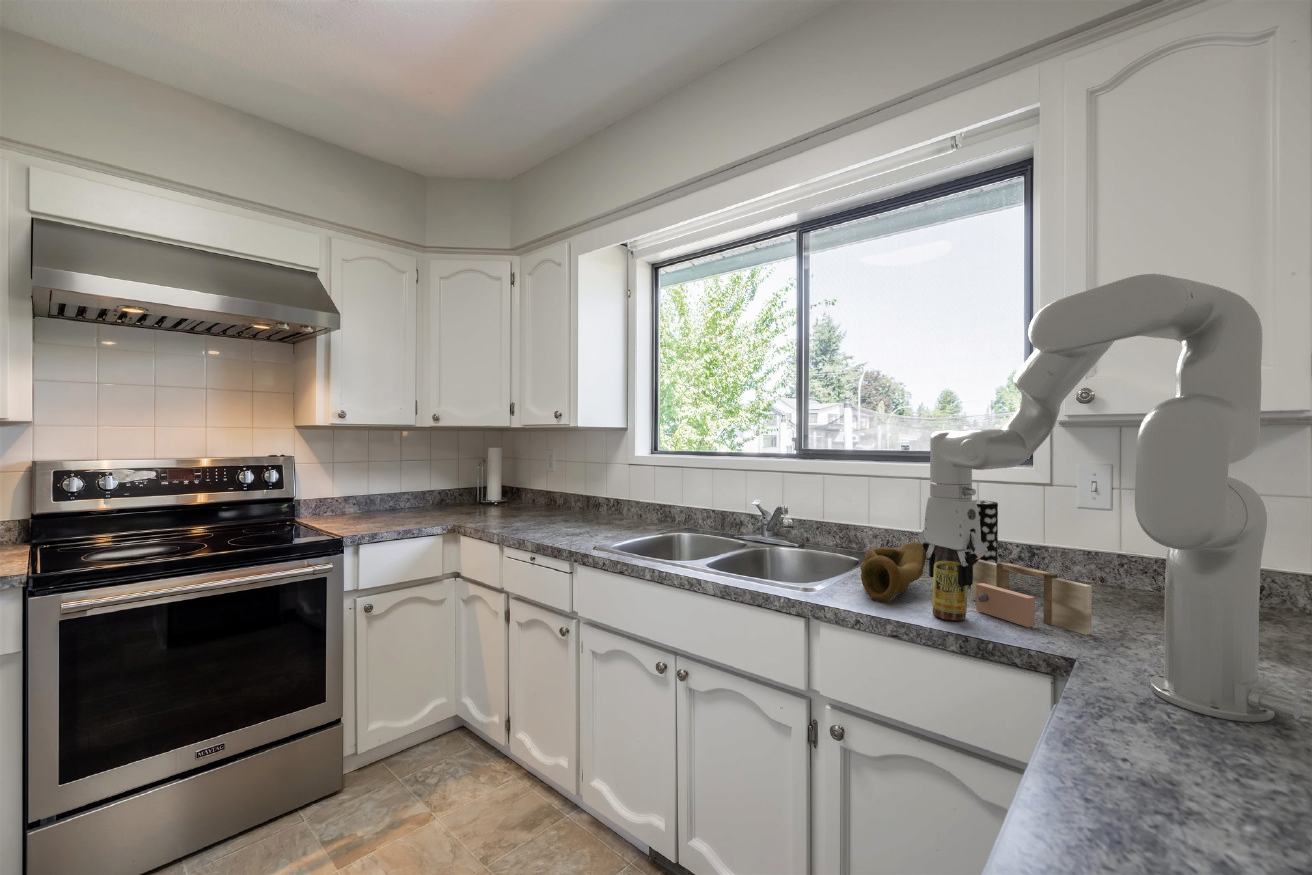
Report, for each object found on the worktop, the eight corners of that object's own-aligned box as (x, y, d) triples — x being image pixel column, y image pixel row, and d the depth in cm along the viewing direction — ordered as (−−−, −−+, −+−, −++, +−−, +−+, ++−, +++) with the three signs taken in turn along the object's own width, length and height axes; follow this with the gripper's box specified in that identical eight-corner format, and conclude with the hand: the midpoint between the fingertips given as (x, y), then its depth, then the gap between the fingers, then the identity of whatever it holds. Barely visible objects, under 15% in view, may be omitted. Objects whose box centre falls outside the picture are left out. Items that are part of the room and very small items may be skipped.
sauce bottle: (931, 619, 116) (931, 520, 115) (932, 610, 121) (932, 516, 121) (968, 624, 113) (968, 522, 112) (968, 615, 118) (968, 518, 118)
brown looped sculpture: (968, 562, 133) (907, 557, 122) (946, 611, 136) (885, 611, 125) (904, 526, 149) (845, 519, 138) (886, 570, 152) (826, 567, 141)
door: (1034, 625, 111) (1035, 597, 111) (1023, 627, 110) (1024, 599, 110) (983, 609, 121) (983, 582, 121) (972, 610, 120) (972, 584, 120)
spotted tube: (996, 589, 137) (997, 505, 136) (957, 584, 141) (957, 502, 141) (998, 581, 144) (998, 501, 143) (960, 577, 148) (960, 499, 148)
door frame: (1092, 633, 107) (1092, 582, 107) (1085, 635, 107) (1085, 583, 106) (976, 598, 130) (976, 555, 129) (970, 599, 129) (970, 556, 129)
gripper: (1003, 495, 110) (1003, 589, 110) (929, 487, 126) (929, 569, 126) (975, 497, 107) (975, 594, 107) (903, 488, 123) (903, 572, 123)
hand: (950, 579), depth 117 cm, fingers closed on sauce bottle, 6 cm apart
